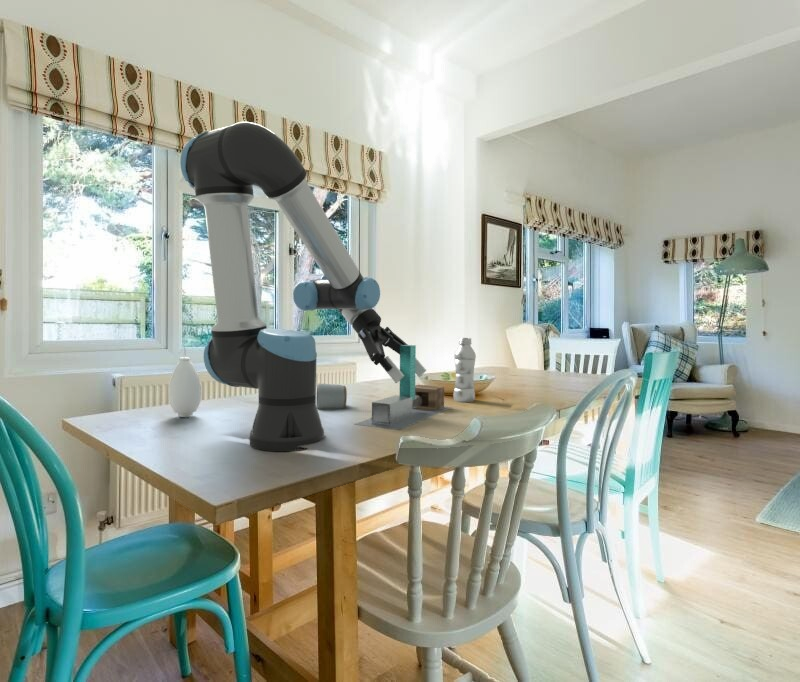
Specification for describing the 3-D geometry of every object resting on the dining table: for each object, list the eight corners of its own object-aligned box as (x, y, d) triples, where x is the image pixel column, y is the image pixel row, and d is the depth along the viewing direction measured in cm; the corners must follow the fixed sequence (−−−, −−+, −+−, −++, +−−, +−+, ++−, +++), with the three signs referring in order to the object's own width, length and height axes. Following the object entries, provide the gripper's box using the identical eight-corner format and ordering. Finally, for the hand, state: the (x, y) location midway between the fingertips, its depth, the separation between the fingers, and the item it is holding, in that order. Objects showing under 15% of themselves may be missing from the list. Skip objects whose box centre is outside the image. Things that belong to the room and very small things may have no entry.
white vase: (201, 413, 137) (200, 346, 136) (201, 418, 129) (201, 347, 128) (169, 414, 134) (168, 346, 133) (167, 420, 126) (166, 348, 125)
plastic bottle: (463, 401, 160) (464, 337, 159) (479, 404, 154) (480, 338, 153) (448, 403, 156) (449, 337, 155) (464, 406, 150) (465, 338, 149)
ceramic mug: (347, 412, 140) (347, 384, 139) (317, 413, 138) (317, 385, 138) (343, 406, 150) (343, 380, 150) (315, 407, 148) (315, 380, 148)
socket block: (435, 410, 138) (435, 389, 137) (408, 408, 141) (408, 387, 141) (444, 407, 143) (444, 386, 143) (418, 404, 147) (418, 384, 146)
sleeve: (389, 426, 118) (389, 404, 118) (371, 424, 120) (371, 402, 120) (412, 417, 128) (412, 396, 128) (395, 415, 131) (395, 395, 130)
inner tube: (392, 418, 121) (392, 347, 120) (381, 416, 122) (381, 347, 121) (422, 406, 136) (422, 344, 135) (412, 405, 137) (412, 344, 136)
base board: (399, 434, 114) (399, 429, 114) (354, 428, 120) (354, 424, 120) (451, 411, 143) (451, 407, 143) (413, 407, 148) (413, 403, 148)
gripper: (376, 326, 149) (422, 380, 144) (327, 327, 127) (379, 392, 121) (392, 308, 147) (440, 362, 141) (345, 306, 124) (399, 371, 119)
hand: (412, 376), depth 131 cm, fingers open, 13 cm apart
